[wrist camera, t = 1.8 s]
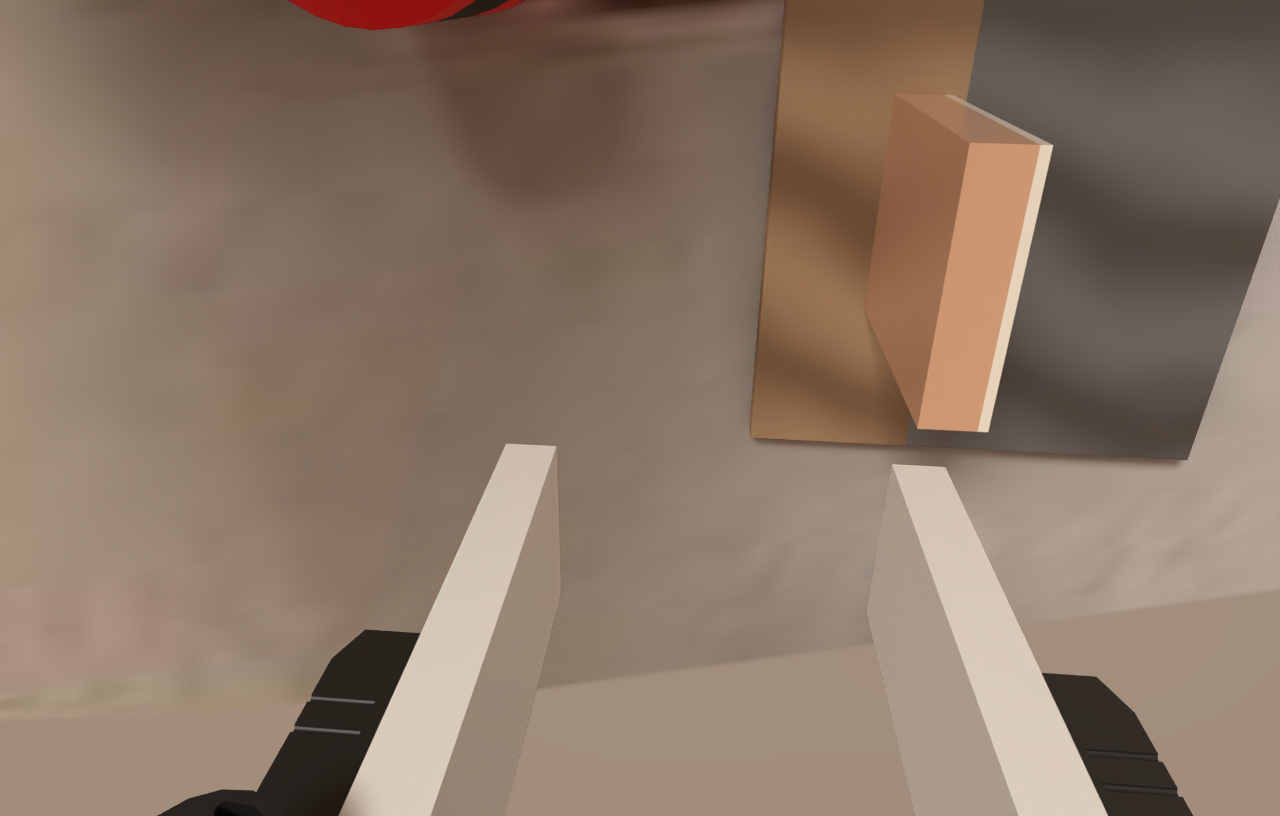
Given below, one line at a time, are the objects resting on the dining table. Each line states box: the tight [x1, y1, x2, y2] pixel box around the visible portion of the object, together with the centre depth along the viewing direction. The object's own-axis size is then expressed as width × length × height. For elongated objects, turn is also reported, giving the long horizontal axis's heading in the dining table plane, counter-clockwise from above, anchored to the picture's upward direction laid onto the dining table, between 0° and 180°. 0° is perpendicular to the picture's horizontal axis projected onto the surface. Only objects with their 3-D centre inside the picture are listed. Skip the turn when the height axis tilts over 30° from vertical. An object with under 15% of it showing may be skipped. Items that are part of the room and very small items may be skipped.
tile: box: [864, 94, 1053, 432], centre depth 27 cm, size 8×2×10 cm, turn 179°
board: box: [750, 0, 1280, 460], centre depth 32 cm, size 20×18×1 cm
